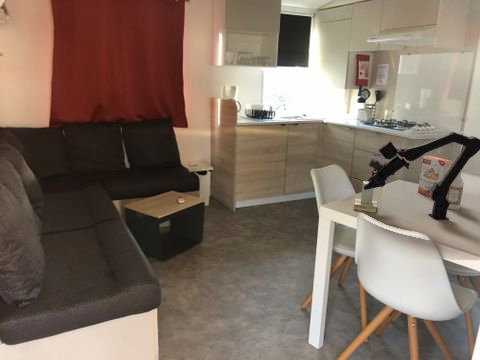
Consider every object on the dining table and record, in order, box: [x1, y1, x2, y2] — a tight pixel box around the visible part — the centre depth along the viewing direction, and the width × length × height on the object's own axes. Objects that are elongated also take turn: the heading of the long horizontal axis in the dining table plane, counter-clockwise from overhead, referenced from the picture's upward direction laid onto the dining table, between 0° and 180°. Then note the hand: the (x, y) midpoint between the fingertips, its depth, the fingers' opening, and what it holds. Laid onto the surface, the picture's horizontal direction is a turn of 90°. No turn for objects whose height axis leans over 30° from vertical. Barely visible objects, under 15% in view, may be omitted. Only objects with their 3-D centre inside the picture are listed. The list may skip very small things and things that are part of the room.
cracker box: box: [417, 155, 453, 198], centre depth 217 cm, size 14×6×21 cm, turn 25°
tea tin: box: [360, 180, 375, 205], centre depth 192 cm, size 5×5×10 cm
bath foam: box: [446, 169, 465, 211], centre depth 197 cm, size 7×7×20 cm
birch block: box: [353, 198, 378, 213], centre depth 193 cm, size 10×10×3 cm
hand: (364, 187), depth 191 cm, fingers open, 7 cm apart
